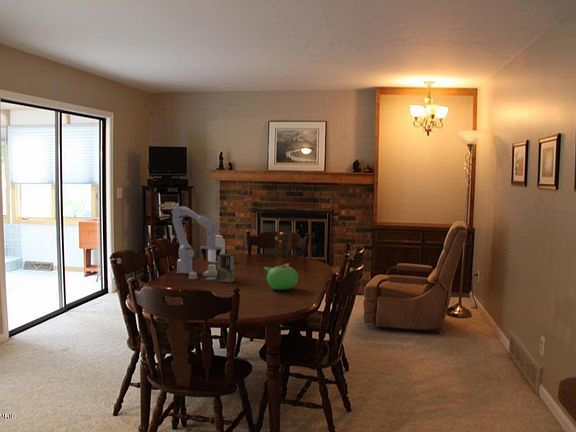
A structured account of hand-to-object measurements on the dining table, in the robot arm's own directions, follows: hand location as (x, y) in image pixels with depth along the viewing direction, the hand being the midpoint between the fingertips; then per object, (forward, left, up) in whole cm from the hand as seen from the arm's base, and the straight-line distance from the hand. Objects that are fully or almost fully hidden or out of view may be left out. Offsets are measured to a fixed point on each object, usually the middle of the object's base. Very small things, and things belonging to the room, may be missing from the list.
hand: (211, 260), depth 327 cm
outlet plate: (+2, +1, -9) cm, 10 cm away
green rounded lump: (+51, -32, -10) cm, 61 cm away
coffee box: (+14, -16, -10) cm, 23 cm away
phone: (+4, -13, -10) cm, 17 cm away
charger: (+1, 0, -9) cm, 9 cm away
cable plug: (-8, -13, -10) cm, 18 cm away
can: (-11, +54, -10) cm, 56 cm away
